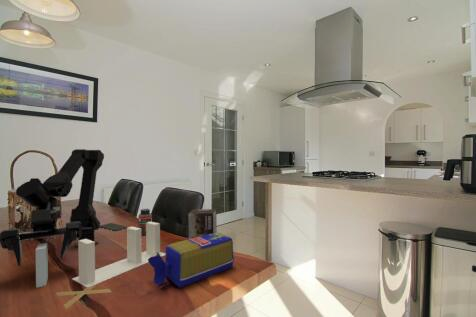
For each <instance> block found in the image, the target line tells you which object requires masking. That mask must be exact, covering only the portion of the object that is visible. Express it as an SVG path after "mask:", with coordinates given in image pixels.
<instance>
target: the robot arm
mask: <svg viewBox="0 0 476 317" xmlns="http://www.w3.org/2000/svg"><path fill="white" fill-rule="evenodd" d="M104 159H105V154H104V153H103V152H102V150H100V149H84V148H83V149H81V148H80V149H77V148H76V149H73V150H72V151H71V155H70V156H69V157H68V159H67V160H66V161H65V163H64V164H63V165H62V167H61V168H60V169H59V170H58V172H57V173H55V174H54V175H51V176H49V177H47V179H46V180H45V181H43V183H42V181H41V180H40V179H39V178H37V177H34V178H33V177H32V178H30V179H29V181H26V182H24V183H22V184H21V185H20V186H18V187H17V188H16V190H15V194H16V196H18V197H19V198H20V200H22V201H23V202H25V203H26V204H27V205H28V206H29V207H31V208H34V210H31V212H30V222H29V223H30V227H29V228H30V230H31V231H27V232H25V231H24V232H21V229H20V228H12V229H4V230H2V231H1V232H0V246H1V249H7V250H8V251H13V253H14V256H15V259H16V262H17V266H18V267H21V266H22V262H23V261H22V260H23V258H22V256H23V246H22V242H23V241H25V240H26V241H27V240H33V239H40V238H41V239H42V238H49V237H57V236H63V239H62V245H61V250H60V259H61V260H62V259H64V257H65V255H66V253H67V250H68V249H69V247H70V246H71V245H72V243H73V242H75V241H77V242H76V243H74V244H73V245H74V246H75V247H78V241H79V240H83V239H88V240H91V241H94V242H95V245H98V244H99V241H96V240H95V231H97V230H100V229H101V228H100V225H101V221H100V220H99V219H98V217H97V215H96V214H97V211H96V209H95V206H93V203H94V196H95V195H94V194H95V187H96V180H97V173H98V171H99V169H100V168H101V167H102V165H103V161H104ZM81 167H82V171H83V172H82V179H81V183H80V184H81V185H80V193H79V197H78V204H77V206H76V207H74V208H72V209H71V212H70V218H69V222H65V227H60V228H59V227H58V228H57V220H58V219H61V218H62V207H61V204H60V203H59V200H58V198H65V197H68V196H69V195H70V193H71V190H72V189H73V179H74V178H75V176H76V175H77V173H78V172H79V170H80V169H81Z"/></svg>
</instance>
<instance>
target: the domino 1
mask: <svg viewBox="0 0 476 317" xmlns="http://www.w3.org/2000/svg"><path fill="white" fill-rule="evenodd" d="M48 253H49V252H48V242H45V243H44V242H43V243H39V244H37V246H36V248H35V288H36V289H37V288H42V287H46V285H47V283H48V279H49V271H48V270H49V269H48V268H49V267H48V266H49V265H48V263H49V260H48V256H49V254H48Z"/></svg>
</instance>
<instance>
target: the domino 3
mask: <svg viewBox="0 0 476 317" xmlns="http://www.w3.org/2000/svg"><path fill="white" fill-rule="evenodd" d="M127 227H128V228H127V229H126V254H127V256H126V258H127V261H130V262H132V263H135V264H138V263H140V262H142V252H143V250H142V242H143V241H142V235H141V228H138V227H136V226H127Z"/></svg>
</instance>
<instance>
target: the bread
mask: <svg viewBox="0 0 476 317" xmlns="http://www.w3.org/2000/svg"><path fill="white" fill-rule="evenodd" d="M233 243H234V242H233V238H231V237H230V236H227V235H226V234H222V233H220V232H217V233H212V234H208V235H204V236H200V237H195V238H192V239H189V238H188V239H184V240H180V241H178V242H174V243H170V244H168V245H165V246H166V247H165V254H166V255H165V257H164V258H165V261H164V259H163V256H162V257H161V256H160V255H159V253H158V252H157V255H156V256H153V257H150V258H149V259H148V261H149V262H148V263H149V265H150V266H151V267H153V270H154V276H153V283H154V284H155V285H157V286H158V287H159V286H161V285H162V284H164V283H165V284H166V278H167V279H168V280H170V281H171V282H172V283H173V284H174V285H175V286H176V287H178V288H183V287H185V286H188V285H190V284H193V283H196V282H197V281H198V282H199V281H201V280H204V279H206V278H208V277H212V276H213V275H216V274H219V273H222V272H223V271H224V272H225V271H227V270H229V269H231V268H232V267H233V266H234V260H235V259H234V258H235V257H234V255H235V254H234V247H233V246H234V244H233ZM157 286H156V287H155V289H157V288H158V287H157Z"/></svg>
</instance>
